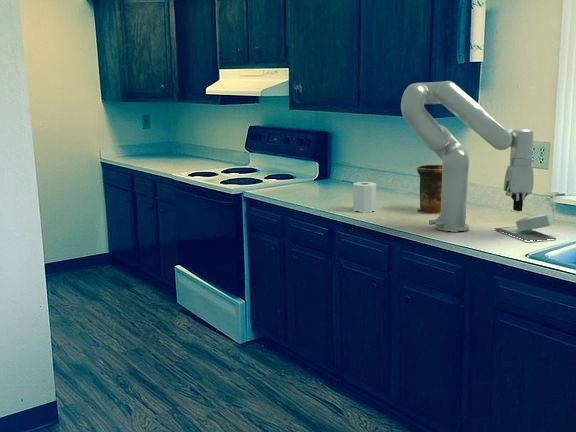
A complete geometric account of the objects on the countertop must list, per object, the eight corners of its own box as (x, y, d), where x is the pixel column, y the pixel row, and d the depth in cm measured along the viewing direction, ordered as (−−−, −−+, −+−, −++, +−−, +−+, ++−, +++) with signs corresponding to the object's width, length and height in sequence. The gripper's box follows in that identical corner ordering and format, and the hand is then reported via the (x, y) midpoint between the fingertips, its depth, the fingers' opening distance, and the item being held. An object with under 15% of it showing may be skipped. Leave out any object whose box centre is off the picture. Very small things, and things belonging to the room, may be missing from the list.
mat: (527, 242, 223) (527, 240, 223) (494, 229, 242) (494, 228, 242) (556, 240, 226) (556, 238, 226) (521, 227, 245) (521, 225, 245)
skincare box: (521, 218, 240) (552, 212, 232) (524, 229, 240) (555, 223, 232) (515, 221, 235) (547, 215, 227) (518, 232, 235) (550, 226, 227)
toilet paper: (378, 212, 274) (378, 185, 271) (354, 213, 274) (354, 185, 271) (373, 207, 284) (374, 181, 281) (351, 208, 283) (351, 181, 281)
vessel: (442, 216, 265) (443, 169, 261) (411, 213, 273) (411, 167, 269) (455, 210, 276) (456, 165, 272) (425, 207, 284) (425, 163, 280)
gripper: (531, 159, 239) (527, 207, 243) (497, 162, 234) (494, 210, 239) (544, 162, 232) (540, 210, 236) (509, 164, 227) (506, 214, 232)
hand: (517, 210), depth 237 cm, fingers closed
